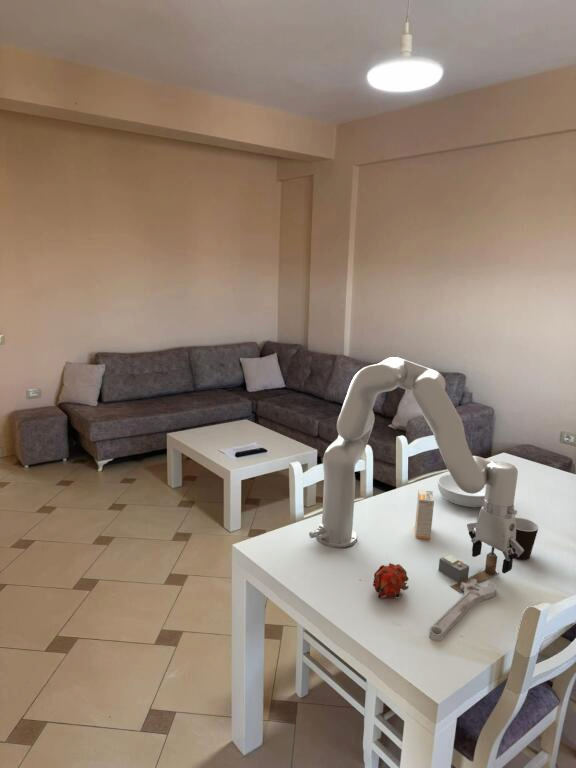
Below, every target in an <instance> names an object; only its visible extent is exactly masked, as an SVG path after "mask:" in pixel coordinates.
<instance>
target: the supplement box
mask: <svg viewBox="0 0 576 768" xmlns="http://www.w3.org/2000/svg"><path fill="white" fill-rule="evenodd" d="M417 491H418V492H417V498H416V499H417V502H416V510H415V511H416V512H415V522H414V532H415V538H416V539H424V540H430V539H431V535H432V525H433V515H434V506H435V499H434V498H435V497H434V491H433V490H426V489H418V490H417Z"/></svg>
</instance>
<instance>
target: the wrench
mask: <svg viewBox="0 0 576 768" xmlns="http://www.w3.org/2000/svg"><path fill="white" fill-rule="evenodd" d="M460 588H461V589H462V590H463V591H462V592H463V595H462V596H461V597H460V598H459V599H458V600H457V601H456V602H455V603H454V604H453V605H452V606H451V607H450V608H449V609H448V610H447V611H446V612H445V613H444V614H443V615H442V616H441V617H440V618H439V619H438V620H436V622H435V623H434V624H433V625H432V626H431V627H429V633H428V637H429V638H430V639H432V640H433V641H438V642H439V641H441V640H442V639H443V638H445V636H446V635H447V634H448V633H449V632H450V631H451V630H452V628H453V627H454V626H455V625H457V623H458V622H459V620H461V618H463V616H465V614H466V613H467V612H468V611H469V610H470V609H471V607H472V606H473V605H475V604H477V603H480V602H482V601H485V600H488V598H489V599H492V598H491V597H493V598H494V597H495V596H494V595H496V594H497V593H496V591H497V588H496V585H495V583H493V582H492V581H488V584H487V586H480V585H479V586H478V585H477V580H476V579H473V580H470V581H467V582H466V583H463V582H461V586H460ZM484 599H485V600H484Z"/></svg>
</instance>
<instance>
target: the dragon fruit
mask: <svg viewBox="0 0 576 768" xmlns="http://www.w3.org/2000/svg"><path fill="white" fill-rule="evenodd" d="M407 573H408V572H407V571H406V570H405V568H404V567H403V566H402V565H401V564H399V563H398V564H393V563H391V562H390V563H388V565H385V564H383V565H380V566H379V568H378V569H377V570H376V571H375V572H374V575H373V582H372V586H373V587H374V590H375V591H376V593H378V598H379V599H380V598H381V599H389V598H390V596H391V595H393V597H394V598H400V597H401V596H403V595H402V593H401V590H403V591H406V590H407V591H408V590H409V585H407V584H408V583H407V582H408V581H409V577H408V574H407Z"/></svg>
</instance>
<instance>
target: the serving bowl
mask: <svg viewBox="0 0 576 768" xmlns="http://www.w3.org/2000/svg"><path fill="white" fill-rule="evenodd" d="M437 487H438V491H439V493H440V494H441V496H442V497H443V498H444V499H445V500H446V501H449V502H451V503H453V504H455V505H458V506H461V507H468V508H469V507H470V508H477V507H478V508H479V507H482V506H484V498H485V490H486V485H485V486H484V488H483V489H482V490H481V491H479V492H477V493H473V494H471V493H466V492H464V491H463V490H461V489H460V488H459V487H458V486H457V484H456V483H455V481H454V479H453V477H452V476H451V474H450V473H449V474H448V473H447V474H445V475H441V476H439V478H437Z"/></svg>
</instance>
